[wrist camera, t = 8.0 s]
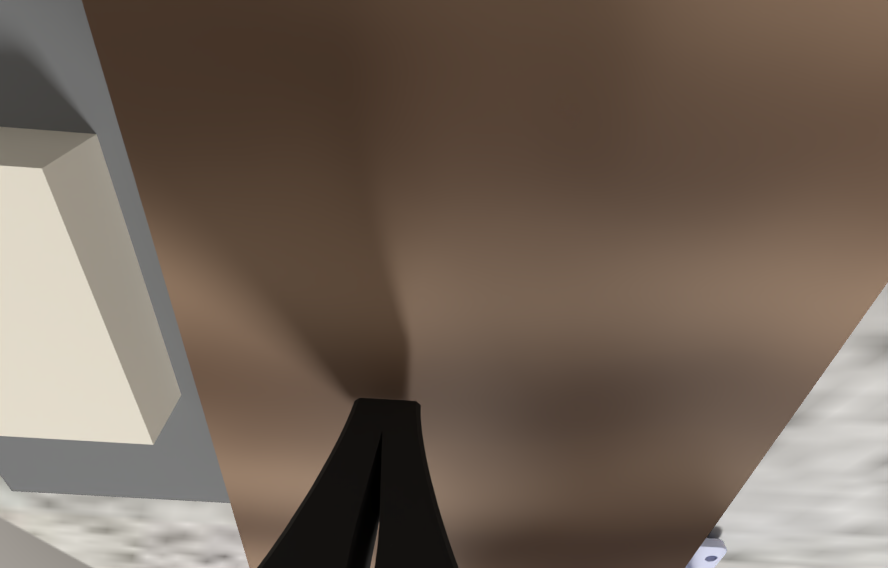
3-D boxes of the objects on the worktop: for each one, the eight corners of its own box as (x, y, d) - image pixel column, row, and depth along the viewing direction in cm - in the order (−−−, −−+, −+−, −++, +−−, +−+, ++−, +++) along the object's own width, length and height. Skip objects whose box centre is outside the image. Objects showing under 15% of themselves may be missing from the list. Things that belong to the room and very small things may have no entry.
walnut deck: (619, 515, 22) (648, 619, 19) (288, 497, 22) (259, 600, 18) (957, -162, 9) (1229, -200, 6) (157, -242, 9) (-16, -330, 6)
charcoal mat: (264, 495, 22) (261, 504, 21) (18, 482, 21) (11, 491, 21) (97, -247, 9) (83, -254, 8) (-531, -311, 8) (-571, -320, 8)
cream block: (-49, 432, 16) (-2, 384, 17) (153, 445, 16) (181, 395, 17) (-265, 145, 10) (-168, 113, 12) (41, 168, 11) (96, 134, 12)
